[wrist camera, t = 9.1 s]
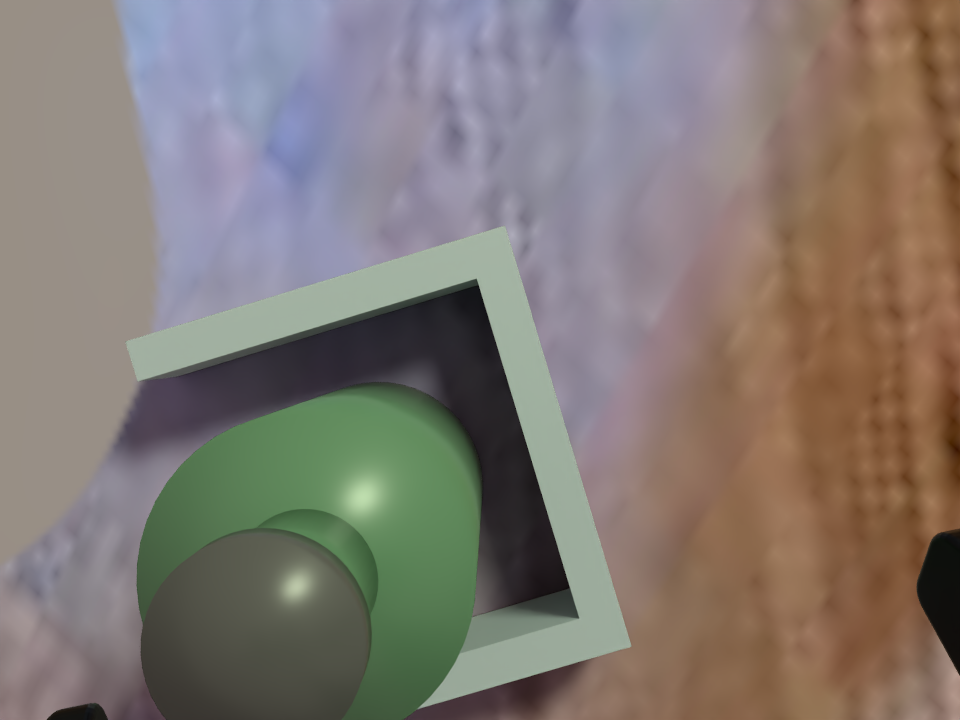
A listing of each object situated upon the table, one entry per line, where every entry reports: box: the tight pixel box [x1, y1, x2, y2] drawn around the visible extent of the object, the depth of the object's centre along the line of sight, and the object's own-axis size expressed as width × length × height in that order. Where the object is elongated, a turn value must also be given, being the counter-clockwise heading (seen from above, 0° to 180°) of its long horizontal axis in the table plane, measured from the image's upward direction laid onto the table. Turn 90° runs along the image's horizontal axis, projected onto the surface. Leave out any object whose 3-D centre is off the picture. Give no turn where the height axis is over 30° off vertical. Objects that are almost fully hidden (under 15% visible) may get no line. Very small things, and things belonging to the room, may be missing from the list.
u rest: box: [126, 226, 631, 709], centre depth 22 cm, size 10×10×2 cm
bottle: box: [137, 382, 483, 720], centre depth 17 cm, size 6×6×12 cm
